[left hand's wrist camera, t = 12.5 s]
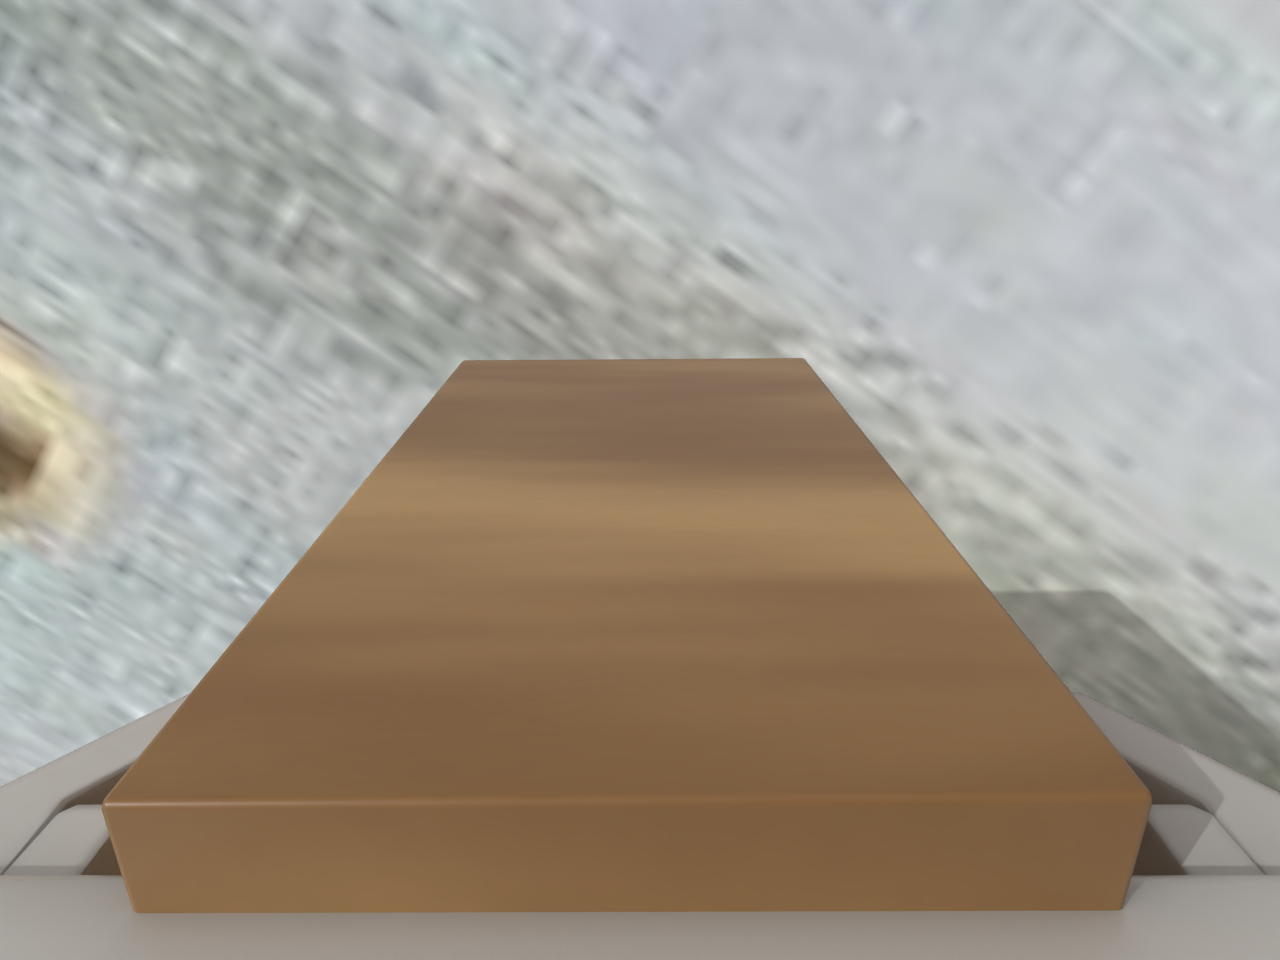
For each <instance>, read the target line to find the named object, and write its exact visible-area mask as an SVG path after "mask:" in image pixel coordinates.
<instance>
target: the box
mask: <svg viewBox="0 0 1280 960" xmlns="http://www.w3.org/2000/svg"><path fill="white" fill-rule="evenodd" d="M1152 803H1153V801H1152V795H1151V792H1150V791H1149V789H1148V788H1147V787H1146V786H1145V784H1144V783H1143V782H1142V781H1141V779H1140V778H1139V777H1138V776H1137V774H1136V773H1135V772H1134V771H1133V769H1132V768H1131V767H1130V766H1129V764H1128V763H1127V762H1126V761H1125V759H1124V758H1123V757H1122V756H1121V754H1120V753H1119V752H1118V751H1117V749H1116V748H1115V747H1114V746H1113V744H1112V743H1111V742H1110V741H1109V739H1108V738H1107V737H1106V736H1105V734H1104V733H1103V732H1102V731H1101V729H1100V728H1099V727H1098V726H1097V724H1096V723H1095V722H1094V721H1093V719H1092V718H1091V717H1090V716H1089V714H1088V713H1087V712H1086V711H1085V709H1084V708H1083V707H1082V706H1081V704H1080V703H1079V702H1078V701H1077V699H1076V698H1075V697H1074V696H1073V694H1072V693H1071V692H1070V691H1069V689H1068V688H1067V687H1066V686H1065V684H1064V683H1063V682H1062V681H1061V679H1060V678H1059V677H1058V676H1057V674H1056V673H1055V672H1054V671H1053V669H1052V668H1051V667H1050V666H1049V664H1048V663H1047V662H1046V661H1045V659H1044V658H1043V657H1042V655H1041V654H1040V653H1039V652H1038V650H1037V649H1036V648H1035V647H1034V645H1033V644H1032V643H1031V642H1030V640H1029V639H1028V638H1027V637H1026V635H1025V634H1024V633H1023V632H1022V630H1021V629H1020V628H1019V627H1018V625H1017V624H1016V623H1015V622H1014V620H1013V619H1012V618H1011V617H1010V615H1009V614H1008V613H1007V612H1006V610H1005V609H1004V608H1003V607H1002V605H1001V604H1000V603H999V602H998V600H997V599H996V598H995V597H994V595H993V594H992V593H991V592H990V590H989V589H988V588H987V587H986V585H985V584H984V583H983V582H982V580H981V579H980V578H979V577H978V575H977V574H976V573H975V572H974V570H973V569H972V568H971V567H970V565H969V564H968V563H967V562H966V560H965V559H964V558H963V557H962V555H961V554H960V553H959V552H958V550H957V549H956V548H955V547H954V545H953V544H952V543H951V542H950V540H949V539H948V538H947V537H946V535H945V534H944V533H943V532H942V530H941V529H940V528H939V527H938V525H937V524H936V523H935V522H934V520H933V519H932V518H931V517H930V515H929V514H928V513H927V512H926V510H925V509H924V508H923V507H922V505H921V504H920V503H919V502H918V500H917V499H916V498H915V497H914V495H913V494H912V493H911V492H910V490H909V489H908V488H907V487H906V485H905V484H904V483H903V482H902V480H901V479H900V478H899V477H898V475H897V474H896V473H895V472H894V470H893V469H892V468H891V467H890V465H889V464H888V463H887V462H886V460H885V459H884V458H883V457H882V455H881V454H880V453H879V452H878V450H877V449H876V448H875V447H874V445H873V444H872V443H871V442H870V440H869V439H868V438H867V437H866V435H865V434H864V433H863V432H862V430H861V429H860V428H859V427H858V425H857V424H856V423H855V422H854V420H853V419H852V418H851V417H850V415H849V414H848V413H847V412H846V410H845V409H844V408H843V407H842V405H841V404H840V403H839V402H838V400H837V399H836V398H835V397H834V395H833V394H832V393H831V392H830V390H829V389H828V388H827V387H826V385H825V384H824V383H823V382H822V380H821V379H820V378H819V377H818V375H817V374H816V373H815V372H814V370H813V369H812V368H811V367H810V365H809V364H808V363H807V362H806V360H805V359H803V358H767V359H617V360H467V361H463V362H462V363H461V364H460V365H459V366H458V368H457V369H456V370H455V371H454V373H453V374H452V375H451V376H450V377H449V379H448V380H447V381H446V382H445V384H444V385H443V386H442V387H441V388H440V390H439V391H438V392H437V393H436V395H435V396H434V397H433V398H432V399H431V401H430V402H429V403H428V404H427V406H426V407H425V408H424V409H423V410H422V412H421V413H420V414H419V415H418V416H417V418H416V419H415V420H414V421H413V423H412V424H411V425H410V426H409V427H408V429H407V430H406V431H405V432H404V434H403V435H402V436H401V437H400V438H399V440H398V441H397V442H396V443H395V445H394V446H393V447H392V448H391V449H390V451H389V452H388V453H387V454H386V456H385V457H384V458H383V459H382V460H381V462H380V463H379V464H378V465H377V467H376V468H375V469H374V470H373V471H372V473H371V474H370V475H369V476H368V478H367V479H366V480H365V481H364V482H363V484H362V485H361V486H360V487H359V489H358V490H357V491H356V492H355V493H354V495H353V496H352V497H351V498H350V499H349V501H348V502H347V503H346V504H345V506H344V507H343V508H342V509H341V510H340V512H339V513H338V514H337V515H336V517H335V518H334V519H333V520H332V521H331V523H330V524H329V525H328V526H327V528H326V529H325V530H324V531H323V532H322V534H321V535H320V536H319V537H318V539H317V540H316V541H315V542H314V543H313V545H312V546H311V547H310V548H309V550H308V551H307V552H306V553H305V554H304V556H303V557H302V558H301V559H300V561H299V562H298V563H297V564H296V565H295V567H294V568H293V569H292V570H291V571H290V573H289V574H288V575H287V576H286V578H285V579H284V580H283V581H282V582H281V584H280V585H279V586H278V587H277V589H276V590H275V591H274V592H273V593H272V595H271V596H270V597H269V598H268V600H267V601H266V602H265V603H264V604H263V606H262V607H261V608H260V609H259V611H258V612H257V613H256V614H255V615H254V617H253V618H252V619H251V620H250V622H249V623H248V624H247V625H246V626H245V628H244V629H243V630H242V631H241V633H240V634H239V635H238V636H237V637H236V639H235V640H234V641H233V642H232V643H231V645H230V646H229V647H228V648H227V650H226V651H225V652H224V653H223V654H222V656H221V657H220V658H219V659H218V661H217V662H216V663H215V664H214V665H213V667H212V668H211V669H210V670H209V672H208V673H207V674H206V675H205V676H204V678H203V679H202V680H201V681H200V683H199V684H198V685H197V686H196V687H195V689H194V690H193V691H192V692H191V694H190V695H189V696H188V697H187V698H186V700H185V701H184V702H183V703H182V705H181V706H180V707H179V708H178V709H177V711H176V712H175V713H174V714H173V715H172V717H171V718H170V719H169V720H168V722H167V723H166V724H165V725H164V726H163V728H162V729H161V730H160V731H159V733H158V734H157V735H156V736H155V737H154V739H153V740H152V741H151V742H150V744H149V745H148V746H147V747H146V748H145V750H144V751H143V752H142V753H141V755H140V756H139V757H138V758H137V759H136V761H135V762H134V763H133V764H132V766H131V767H130V768H129V769H128V770H127V772H126V773H125V774H124V775H123V777H122V778H121V779H120V780H119V781H118V783H117V784H116V785H115V786H114V787H113V789H112V790H111V791H110V792H109V794H108V795H107V796H106V797H105V798H104V801H103V803H102V813H103V816H104V820H105V823H106V826H107V829H108V832H109V836H110V839H111V842H112V845H113V848H114V852H115V855H116V858H117V861H118V864H119V867H120V871H121V874H122V877H123V880H124V883H125V887H126V890H127V893H128V896H129V899H130V903H131V906H132V909H133V911H134V912H136V913H423V912H781V911H1118V910H1120V909H1123V906H1124V902H1125V899H1126V895H1127V891H1128V888H1129V884H1130V881H1131V877H1132V874H1133V870H1134V867H1135V863H1136V860H1137V856H1138V852H1139V849H1140V845H1141V842H1142V838H1143V835H1144V831H1145V828H1146V824H1147V820H1148V817H1149V813H1150V810H1151V806H1152Z"/></svg>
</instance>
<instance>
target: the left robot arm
mask: <svg viewBox="0 0 1280 960" xmlns="http://www.w3.org/2000/svg"><path fill="white" fill-rule="evenodd" d="M190 694H191V693H190ZM190 694H188V695H186V696H184V697H182V698H180V699H178V700H176V701H174V702H172V703H170V704H168V705H166V706H164V707H162V708H160V709H158V710H156V711H154V712H152V713H150V714H147V715H145V716H143V717H141V718H139V719H137V720H135V721H133V722H131V723H129V724H127V725H125V726H123V727H121V728H119V729H117V730H115V731H113V732H111V733H109V734H107V735H105V736H103V737H101V738H99V739H97V740H95V741H93V742H91V743H89V744H87V745H85V746H82V747H80V748H78V749H76V750H74V751H72V752H70V753H68V754H66V755H64V756H62V757H60V758H58V759H56V760H54V761H52V762H50V763H48V764H46V765H44V766H42V767H40V768H38V769H36V770H34V771H32V772H30V773H28V774H26V775H24V776H22V777H20V778H17V779H15V780H13V781H11V782H9V783H7V784H5V785H3V786H1V787H0V960H1280V793H1279V792H1277V791H1275V790H1273V789H1271V788H1269V787H1267V786H1265V785H1263V784H1261V783H1259V782H1257V781H1255V780H1253V779H1251V778H1249V777H1247V776H1245V775H1243V774H1241V773H1239V772H1237V771H1235V770H1233V769H1231V768H1229V767H1227V766H1225V765H1223V764H1221V763H1219V762H1217V761H1215V760H1213V759H1211V758H1209V757H1207V756H1205V755H1203V754H1201V753H1199V752H1197V751H1195V750H1193V749H1191V748H1189V747H1187V746H1185V745H1183V744H1181V743H1179V742H1177V741H1175V740H1173V739H1171V738H1169V737H1167V736H1165V735H1163V734H1161V733H1159V732H1157V731H1155V730H1153V729H1151V728H1149V727H1147V726H1145V725H1143V724H1141V723H1139V722H1137V721H1135V720H1133V719H1131V718H1129V717H1127V716H1125V715H1123V714H1121V713H1119V712H1117V711H1115V710H1113V709H1111V708H1109V707H1107V706H1105V705H1103V704H1101V703H1099V702H1097V701H1095V700H1093V699H1091V698H1089V697H1087V696H1085V695H1083V694H1081V693H1072V694H1073V696H1074V697H1075V698H1076V699H1077V701H1078V702H1079V703H1080V704H1081V706H1082V707H1083V708H1084V709H1085V711H1086V712H1087V713H1088V714H1089V716H1090V717H1091V718H1092V719H1093V721H1094V722H1095V723H1096V724H1097V726H1098V727H1099V728H1100V729H1101V731H1102V732H1103V733H1104V734H1105V736H1106V737H1107V738H1108V739H1109V741H1110V742H1111V743H1112V744H1113V746H1114V747H1115V748H1116V749H1117V751H1118V752H1119V753H1120V754H1121V756H1122V757H1123V758H1124V759H1125V761H1126V762H1127V763H1128V764H1129V766H1130V767H1131V768H1132V769H1133V771H1134V772H1135V773H1136V774H1137V776H1138V777H1139V778H1140V779H1141V781H1142V782H1143V783H1144V784H1145V786H1146V787H1147V788H1148V789H1149V791H1150V792H1151V795H1152V801H1153V803H1152V806H1151V810H1150V813H1149V817H1148V820H1147V824H1146V828H1145V831H1144V835H1143V838H1142V842H1141V845H1140V849H1139V852H1138V856H1137V860H1136V863H1135V867H1134V870H1133V874H1132V877H1131V881H1130V884H1129V888H1128V891H1127V895H1126V899H1125V902H1124V906H1123V909H1120V910H1118V911H781V912H423V913H136V912H134V911H133V909H132V906H131V903H130V899H129V896H128V893H127V890H126V887H125V883H124V880H123V877H122V874H121V871H120V867H119V864H118V861H117V858H116V855H115V852H114V848H113V845H112V842H111V839H110V836H109V832H108V829H107V826H106V823H105V820H104V816H103V813H102V803H103V801H104V798H105V797H106V796H107V795H108V794H109V792H110V791H111V790H112V789H113V787H114V786H115V785H116V784H117V783H118V781H119V780H120V779H121V778H122V777H123V775H124V774H125V773H126V772H127V770H128V769H129V768H130V767H131V766H132V764H133V763H134V762H135V761H136V759H137V758H138V757H139V756H140V755H141V753H142V752H143V751H144V750H145V748H146V747H147V746H148V745H149V744H150V742H151V741H152V740H153V739H154V737H155V736H156V735H157V734H158V733H159V731H160V730H161V729H162V728H163V726H164V725H165V724H166V723H167V722H168V720H169V719H170V718H171V717H172V715H173V714H174V713H175V712H176V711H177V709H178V708H179V707H180V706H181V705H182V703H183V702H184V701H185V700H186V698H187V697H188V696H189V695H190Z"/></svg>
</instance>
